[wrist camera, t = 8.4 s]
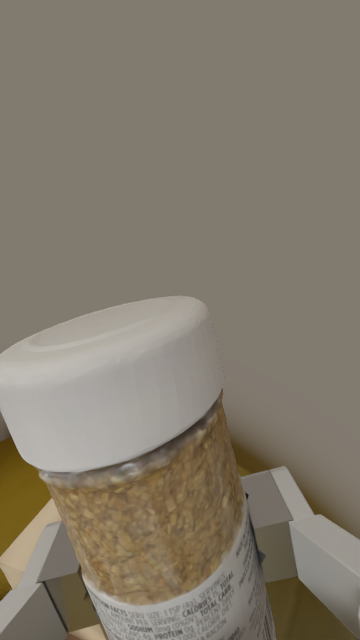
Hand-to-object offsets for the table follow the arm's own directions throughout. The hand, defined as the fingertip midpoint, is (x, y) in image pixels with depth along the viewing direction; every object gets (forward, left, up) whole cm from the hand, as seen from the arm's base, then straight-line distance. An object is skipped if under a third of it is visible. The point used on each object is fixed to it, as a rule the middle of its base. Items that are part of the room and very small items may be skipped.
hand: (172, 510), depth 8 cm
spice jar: (0, -1, -7) cm, 7 cm away
